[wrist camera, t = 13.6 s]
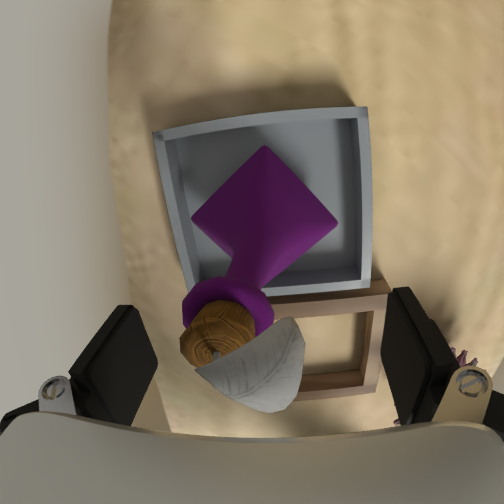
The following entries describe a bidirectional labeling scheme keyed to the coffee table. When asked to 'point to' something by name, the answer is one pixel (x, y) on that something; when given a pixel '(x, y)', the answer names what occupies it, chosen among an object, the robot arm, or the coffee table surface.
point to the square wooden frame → (368, 374)
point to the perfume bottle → (252, 283)
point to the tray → (301, 164)
